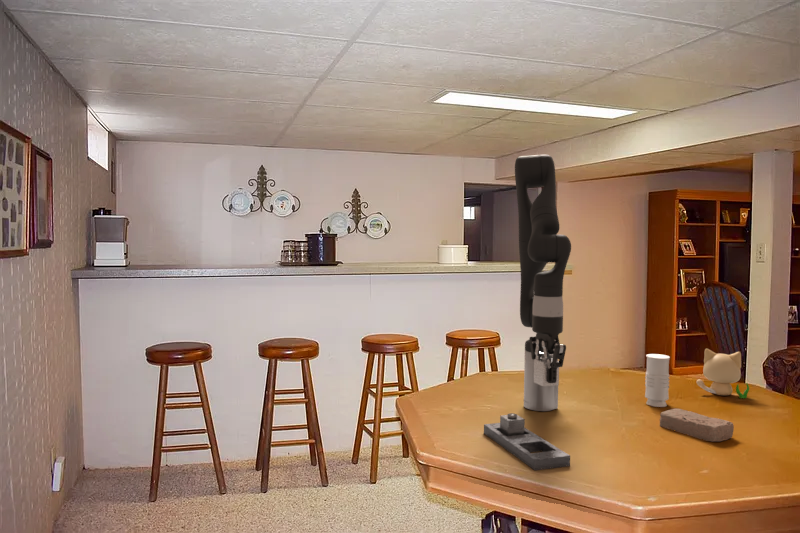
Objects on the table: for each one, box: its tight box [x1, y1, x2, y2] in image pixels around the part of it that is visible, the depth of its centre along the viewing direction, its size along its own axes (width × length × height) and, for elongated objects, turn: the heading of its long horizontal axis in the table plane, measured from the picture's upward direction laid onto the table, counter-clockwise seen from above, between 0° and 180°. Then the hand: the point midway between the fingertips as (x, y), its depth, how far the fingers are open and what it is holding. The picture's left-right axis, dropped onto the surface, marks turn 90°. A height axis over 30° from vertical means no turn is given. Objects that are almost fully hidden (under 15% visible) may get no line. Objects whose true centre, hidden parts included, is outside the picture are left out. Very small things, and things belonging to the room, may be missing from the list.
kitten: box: [696, 348, 750, 399], centre depth 200 cm, size 15×10×15 cm
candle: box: [644, 353, 671, 408], centre depth 188 cm, size 7×7×15 cm
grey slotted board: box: [483, 422, 571, 471], centre depth 149 cm, size 9×26×2 cm, turn 18°
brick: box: [659, 408, 735, 443], centre depth 162 cm, size 17×8×5 cm, turn 31°
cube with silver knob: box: [534, 357, 560, 386], centre depth 155 cm, size 4×4×7 cm
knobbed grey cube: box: [499, 412, 526, 436], centre depth 155 cm, size 4×4×7 cm
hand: (546, 380), depth 155 cm, fingers closed on cube with silver knob, 4 cm apart
